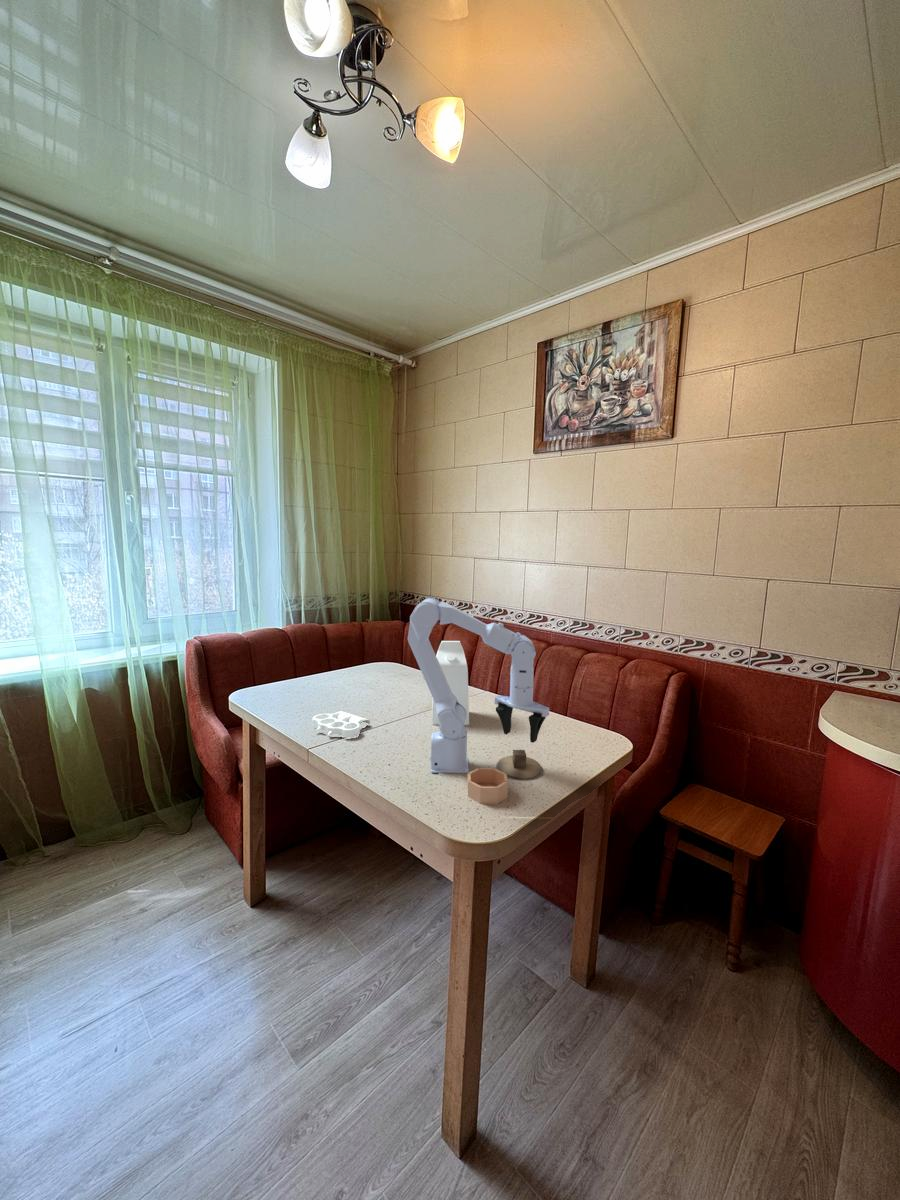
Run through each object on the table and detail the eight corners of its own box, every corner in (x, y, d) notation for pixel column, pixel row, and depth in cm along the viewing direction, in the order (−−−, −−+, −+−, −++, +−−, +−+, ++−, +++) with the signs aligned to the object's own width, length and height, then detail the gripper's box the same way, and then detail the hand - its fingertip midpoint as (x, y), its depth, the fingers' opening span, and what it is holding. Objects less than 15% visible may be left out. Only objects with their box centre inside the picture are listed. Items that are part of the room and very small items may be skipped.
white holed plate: (377, 729, 141) (342, 746, 129) (338, 716, 151) (301, 731, 139) (377, 718, 140) (341, 734, 128) (337, 706, 150) (301, 720, 138)
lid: (499, 779, 110) (500, 762, 109) (495, 758, 121) (495, 742, 120) (544, 779, 110) (545, 763, 109) (536, 758, 121) (537, 743, 120)
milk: (466, 711, 155) (467, 637, 152) (469, 724, 144) (470, 645, 141) (432, 711, 155) (432, 637, 152) (431, 724, 144) (432, 645, 141)
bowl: (468, 804, 99) (468, 787, 99) (467, 783, 108) (467, 767, 108) (509, 805, 99) (509, 788, 99) (504, 783, 108) (505, 768, 108)
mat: (497, 781, 109) (497, 780, 109) (493, 758, 121) (493, 757, 121) (547, 782, 109) (547, 780, 109) (538, 759, 121) (538, 757, 121)
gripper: (555, 687, 111) (553, 739, 113) (505, 676, 120) (504, 724, 122) (542, 694, 106) (540, 749, 107) (490, 682, 115) (489, 733, 116)
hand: (520, 737), depth 114 cm, fingers open, 7 cm apart
